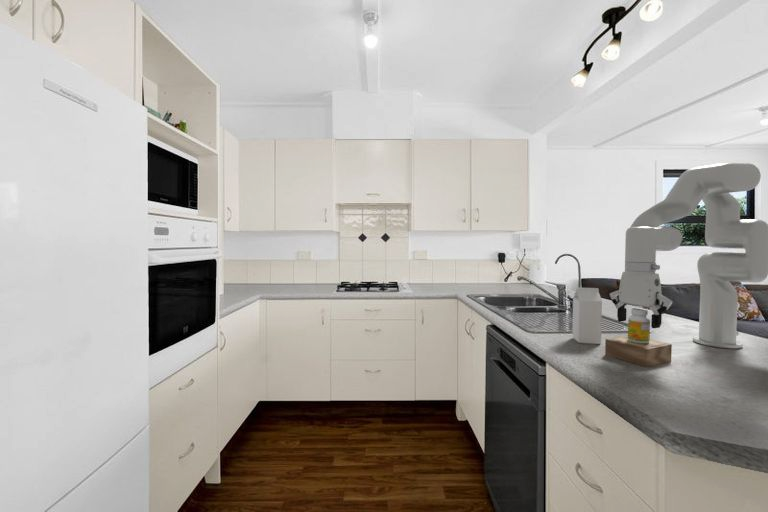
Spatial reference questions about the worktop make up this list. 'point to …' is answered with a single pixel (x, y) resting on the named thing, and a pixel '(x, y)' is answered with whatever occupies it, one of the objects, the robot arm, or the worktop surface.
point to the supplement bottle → (639, 326)
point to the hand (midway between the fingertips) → (638, 324)
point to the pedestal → (638, 351)
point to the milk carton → (587, 315)
